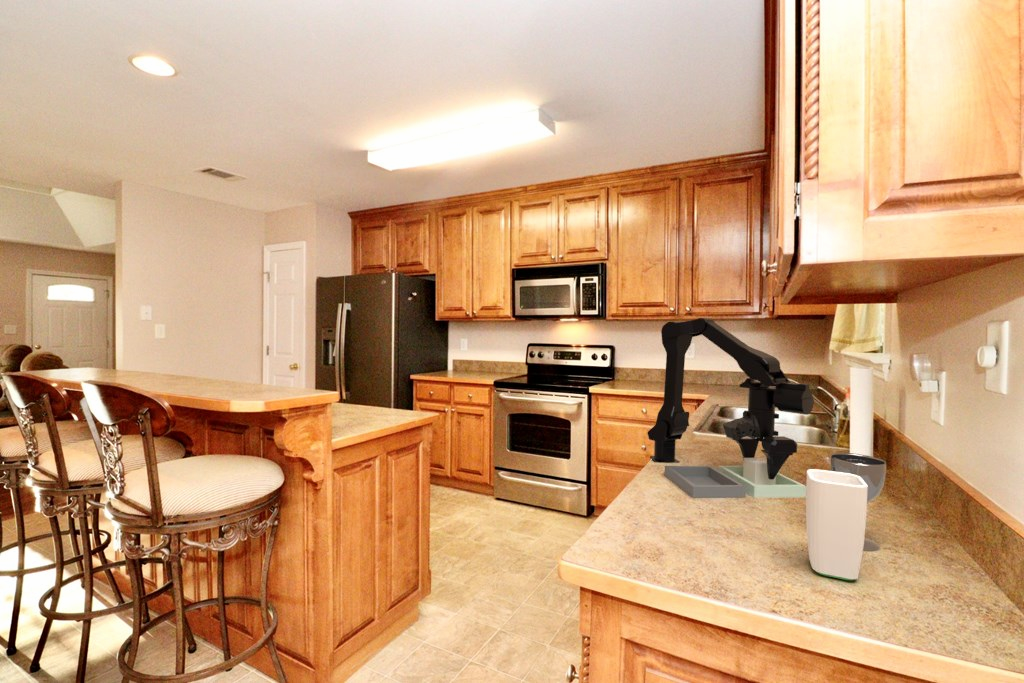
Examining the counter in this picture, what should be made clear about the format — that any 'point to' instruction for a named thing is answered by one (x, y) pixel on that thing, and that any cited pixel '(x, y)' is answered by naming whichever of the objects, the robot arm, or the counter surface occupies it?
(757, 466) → the stone block
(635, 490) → the counter surface
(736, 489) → the bin
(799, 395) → the robot arm
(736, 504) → the counter surface
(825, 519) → the cup
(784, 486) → the bin
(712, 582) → the counter surface
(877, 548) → the wine glass
